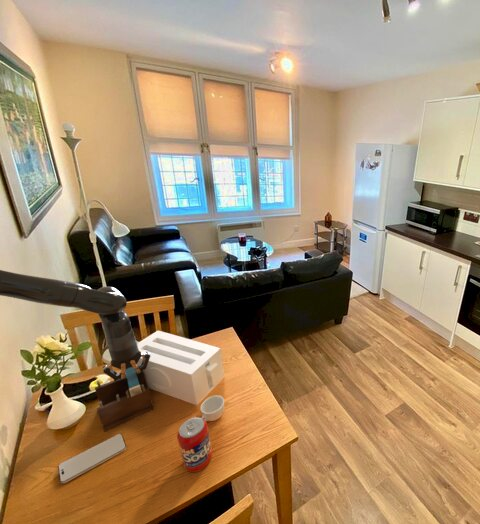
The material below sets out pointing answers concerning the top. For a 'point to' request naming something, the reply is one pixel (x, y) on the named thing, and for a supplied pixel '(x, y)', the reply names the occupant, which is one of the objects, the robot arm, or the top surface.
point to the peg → (133, 382)
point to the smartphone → (91, 458)
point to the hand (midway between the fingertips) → (133, 382)
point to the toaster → (181, 366)
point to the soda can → (195, 444)
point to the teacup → (212, 408)
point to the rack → (121, 403)
